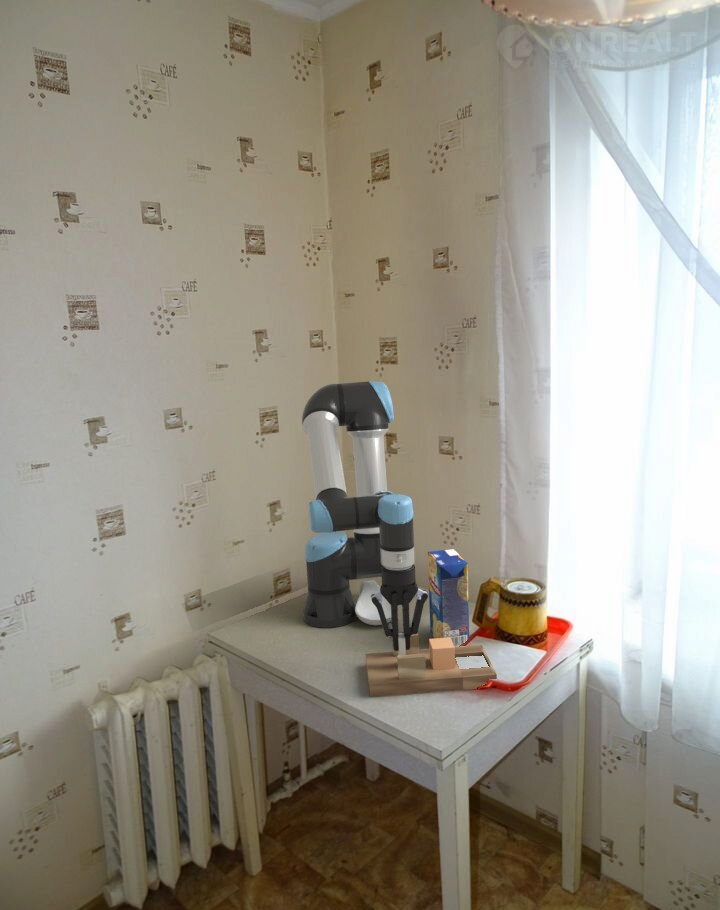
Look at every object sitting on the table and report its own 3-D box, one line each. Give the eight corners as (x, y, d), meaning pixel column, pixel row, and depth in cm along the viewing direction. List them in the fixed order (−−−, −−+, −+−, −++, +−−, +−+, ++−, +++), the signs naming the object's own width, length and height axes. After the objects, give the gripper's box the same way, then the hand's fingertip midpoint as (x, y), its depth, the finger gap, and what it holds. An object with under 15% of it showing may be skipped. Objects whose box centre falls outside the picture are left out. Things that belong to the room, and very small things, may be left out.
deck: (366, 665, 161) (364, 634, 159) (481, 656, 162) (481, 625, 161) (370, 697, 147) (368, 663, 146) (496, 686, 148) (496, 653, 147)
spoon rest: (402, 628, 180) (401, 602, 178) (359, 633, 178) (358, 608, 177) (385, 594, 203) (383, 571, 201) (346, 598, 201) (345, 576, 200)
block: (429, 658, 156) (429, 638, 155) (451, 657, 156) (450, 637, 155) (433, 669, 151) (432, 649, 150) (455, 668, 152) (454, 647, 151)
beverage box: (455, 628, 178) (453, 548, 173) (469, 647, 167) (467, 563, 163) (430, 631, 176) (427, 551, 172) (443, 651, 166) (440, 566, 162)
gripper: (370, 573, 145) (375, 673, 150) (430, 568, 146) (433, 668, 151) (367, 561, 152) (372, 656, 157) (424, 556, 153) (427, 652, 158)
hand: (402, 662), depth 154 cm, fingers closed
